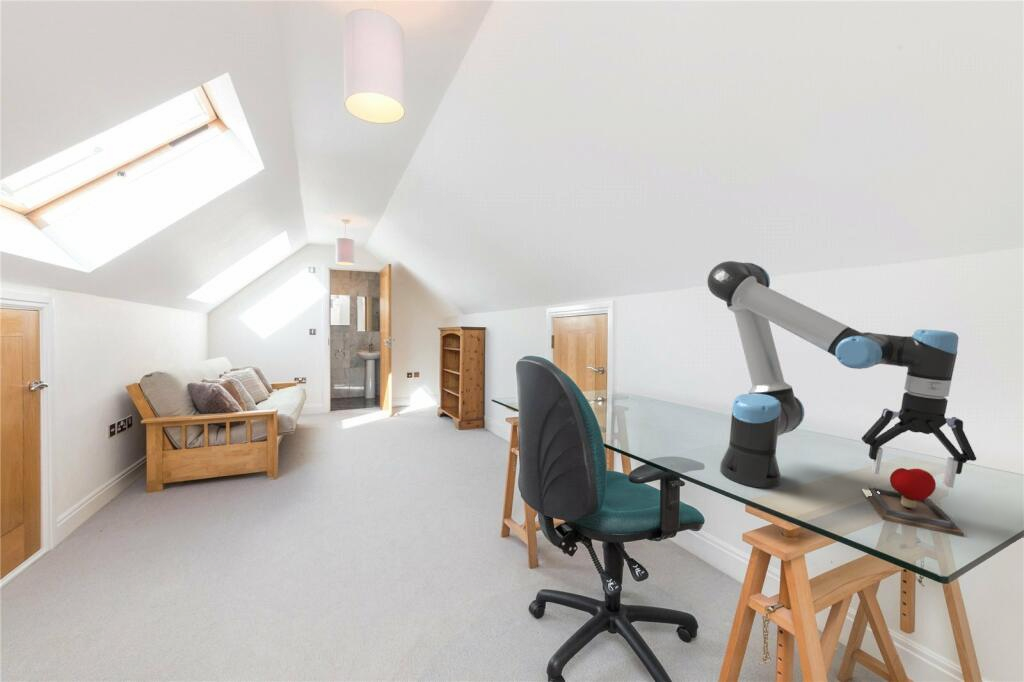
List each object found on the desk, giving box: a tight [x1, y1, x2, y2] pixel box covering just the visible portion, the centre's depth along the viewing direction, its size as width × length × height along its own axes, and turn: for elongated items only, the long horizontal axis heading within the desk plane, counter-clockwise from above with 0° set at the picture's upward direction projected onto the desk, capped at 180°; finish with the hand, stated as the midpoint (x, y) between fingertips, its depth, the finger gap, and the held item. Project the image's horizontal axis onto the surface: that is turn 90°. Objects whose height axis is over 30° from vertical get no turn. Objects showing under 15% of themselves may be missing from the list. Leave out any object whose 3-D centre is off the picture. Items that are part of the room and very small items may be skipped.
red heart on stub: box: [889, 467, 937, 509], centre depth 100 cm, size 9×7×10 cm
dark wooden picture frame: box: [866, 486, 965, 537], centre depth 101 cm, size 14×16×2 cm
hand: (910, 478), depth 101 cm, fingers open, 13 cm apart
